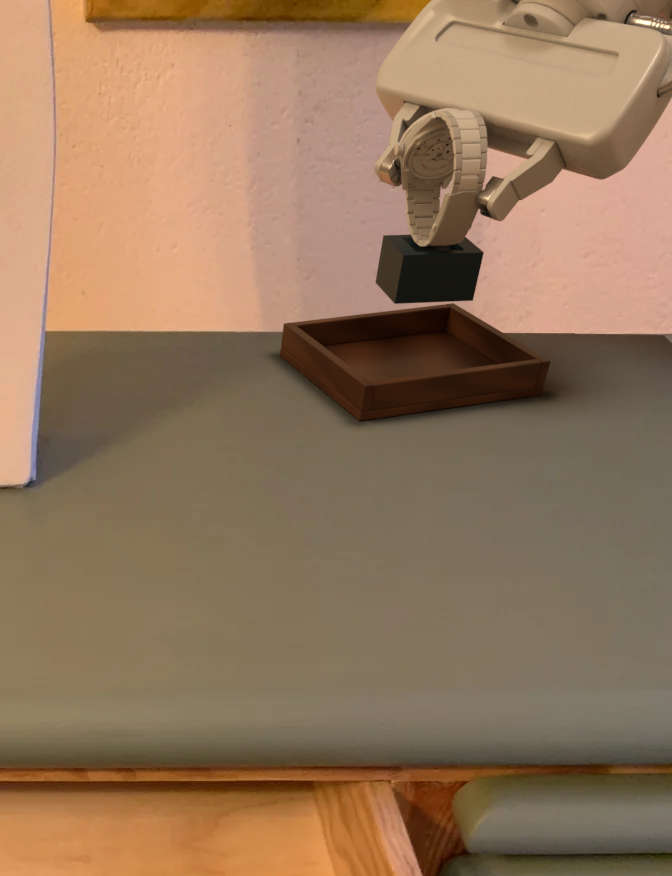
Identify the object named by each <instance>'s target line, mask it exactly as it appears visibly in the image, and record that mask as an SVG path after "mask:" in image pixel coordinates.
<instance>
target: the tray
mask: <svg viewBox="0 0 672 876" xmlns="http://www.w3.org/2000/svg"><path fill="white" fill-rule="evenodd" d="M282 327H283V329H282V334H281V335H282V336H281V342H280V351H279V352H280V353H279V356H280V357H281V358H282V359H283V360H284V361H286V362H288V364H289V365H291V366H292V367H293V368H294V369H296V370H297V371H298V372H299V373H301V374H302V375H303V376H304V377H305V378H306V379H308V380H309V381H310V382H312V383H313V384H314V385H316V387H318V388H319V389H320V390H321V391H322V392H323V393H325V394H326V395H327V396H328V397H330V398H331V399H332V400H333V401H335V402H336V403H337V404H338V405H340V406H341V407H342V408H343V409H345V411H347V412H348V413H349V414H351V415H352V416H353V417H355V418H356V419H357V420H358V421H359V422H361V421H366V420H367V421H368V420H374V419H380V418H388V417H395V416H402V415H409V414H410V415H411V414H416V413H423V412H430V411H437V410H444V409H452V408H458V407H464V406H472V405H480V404H487V403H493V402H500V401H507V400H515V399H522V398H528V397H536V396H542V393H543V390H544V386H545V383H546V379H547V377H548V371H549V368H550V365H551V360H550V359H548V358H546V357H544V356H543V355H541V354H539V353H538V352H536V351H534V350H533V349H531V348H529V347H528V346H526V345H525V344H522V343H521V342H520V341H518V340H516V339H514V338H513V337H511V336H509V335H508V334H506V333H504V332H503V331H501V330H499V329H497V328H496V327H495V326H493V325H491V324H489V323H487V322H485V321H484V320H482V319H481V318H479V317H477V316H476V315H474V314H472V313H471V312H469V311H467V310H466V309H464V308H462V307H460V306H459V305H458V304H456V303H453V302H452V303H451V302H450V303H445V304H437V305H436V304H435V305H428V306H427V305H426V306H420V307H410V308H403V309H396V310H386V311H377V312H369V313H361V314H353V315H343V316H336V317H327V318H319V319H311V320H303V321H301V320H300V321H294V322H286V323H285V322H284V323H283V326H282Z"/></svg>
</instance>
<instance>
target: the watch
mask: <svg viewBox="0 0 672 876" xmlns="http://www.w3.org/2000/svg"><path fill="white" fill-rule="evenodd" d="M394 154H395V156H399V160H400V163H401V180H402V184H401V189H402V191H405V214H406V222H407V227H408V232H409V234H389V235H387V234H386V235H385V234H383V235H382V242H381V247H380V254H379V259H378V266H377V270H376V271H377V272H376V277H375V284H376V285H377V286H378V287H379V288H380V290H381V291H382V292H383V293H384V294H385V295H386V296H387V297H388V298H389V299H390V301H391V302H392V303H393V304H394V305H397V304H399V305H401V304H425V303H446V302H450V303H451V302H473V301H474V297H475V293H476V288H477V284H478V281H479V275H480V271H481V267H482V261H483V258H484V251H483V250H482V249H481V248H479V247H478V245H476V244H475V243H473V242H472V241H471V240H470V239H469V238H467V237H466V236H467V235H468V233H469V231H470V230H471V229H472V227H473V223H474V221H475V218H476V216H477V214H478V211H479V210H480V209H479V208H478V207H477V205H476V199H477V196H478V195H479V193H480V192H481V191H482V190H484V189H483V188H484V182H485V179H486V174H487V170H486V169H487V165H488V148H487V131H486V126H485V123H484V120H483V117H481V114H480V113H479V112H476V111H475V110H465V111H462V110H460V109H455V108H444V109H439V110H436V111H432V112H430V113H428V114H426V115H424V116H423V117H421V118H419V119H418V120H417V121H415V122H414V123H413V124H412V125H411V126H410V127H409V128H408V129H407V130H406V131H405V133H404V134H403V136H402V138H401V141H400V142H397V143H396V144H395V148H394ZM450 183H451V185H450ZM449 185H450V189H449V192H446V193H444V196H443V199H442V202H441V200H440V197H441V189H442V190H445V189H447V188H448V187H449Z"/></svg>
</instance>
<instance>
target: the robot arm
mask: <svg viewBox="0 0 672 876" xmlns="http://www.w3.org/2000/svg"><path fill="white" fill-rule="evenodd" d="M375 92H376V95H377V97H378V99H379V101H380V102H381V105H382V106H383V108H384V109H385V111H386V113H387V115H388V116H389V118H390V119H391V120H392V127H391V129H390V130H391V131H390V135H389V139H388V146H387V147H386V149H385V150H384V151H383V153H382V154H381V155H380V157H379V158H378V159H377V160H376V162H375V164H374V173H375V174H376V176H377V177H378V179H379V181H380V182H381V183H384V184H387V185H390V186H393V187H400V186H402V180H401V163H400V160H399V156H395V154H394V148H395V144H396V143H397V142H400V141H401V138H402V136H403V134H404V133H405V131H406V130H407V129H408V128H409V127H410V126H411V125H412V124H413V123H414V122H415V121H417V120H418V119H419V118H421V117H423V116H424V115H426V114H428V113H430V112H432V111H436V110H439V109H444V108H455V109H460V110H462V111H465V110H475V111H476V112H479V113H480V114H481V117H483V120H484V123H485V126H486V131H487V149H490V150H494V151H497V152H500V153H504V154H507V155H511V156H515V157H518V158H522V159H525V161H524V162H522V163H520V165H519V166H517V167H516V168H514V169H513V170H512V171H510V172H509V173H507V174H506V175H504V176H503V177H502V178H501V177H498V176H494V175H492V176H491V178H490V179H489V180H488V182H487V183H486V184H485V187H484V189H482V191H481V192H480V193H479V195H478V196H477V199H476V205H477V207H478V208H479V209H478V210H479V213H480V215H481V216H484V217H486V218H488V219H491V220H493V221H497V222H503V221H505V219H506V217H508V215H509V214H510V213H511V211H512V210H513V209H514V207H515V206H516V205H517V204H518V202H519V201H522V200H524V199H526V198H528V197H530V196H531V195H533V194H535V193H536V192H538V191H540V190H542V189H543V188H545V187H546V186H548V185H550V184H551V183H553V182H554V180H555V179H556V178H557V177H558V176H559V174H560V173H561V172H562V171H563V170H564V171H567V172H570V173H574V174H578V175H582V176H585V177H589V178H592V179H595V180H599V181H600V180H601V181H603V180H606V179H608V178H610V177H612V176H614V175H615V174H618V173H619V172H621V171H623V170H624V169H625V168H626V167H628V165H629V164H630V163H631V162H632V161H633V160H634V157H635V156H636V155H637V153H638V152H639V151H640V149H641V148H642V146H643V145H644V144H645V142H646V140H647V139H648V138H649V136H650V134H651V133H652V132H653V130H654V129H655V127H656V125H657V124H658V122H659V121H660V119H661V117H662V116H663V114H664V113H665V111H666V109H667V107H668V105H669V103H670V102H671V100H672V0H430V1H429V2H428V3H427V4H426V5H425V6H424V7H423V8H422V10H421V11H420V12H419V13H418V15H416V17H415V18H414V19H413V21H412V22H411V23H410V25H409V26H408V27H407V28H406V30H405V31H404V32H403V33H402V35H401V36H400V38H399V39H398V40H397V42H396V43H395V45H394V46H393V47H392V49H391V50H390V52H389V53H388V54H387V56H386V57H385V58H384V60H383V62H382V64H381V65H380V67H379V69H378V71H377V74H376V80H375Z"/></svg>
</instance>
